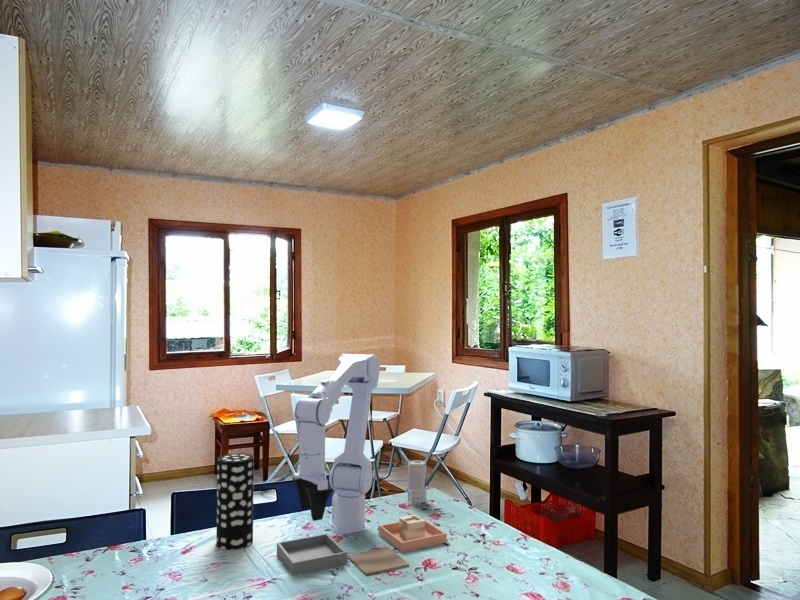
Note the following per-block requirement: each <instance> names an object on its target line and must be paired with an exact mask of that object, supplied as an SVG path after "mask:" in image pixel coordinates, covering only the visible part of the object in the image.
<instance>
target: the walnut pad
mask: <svg viewBox="0 0 800 600" xmlns="http://www.w3.org/2000/svg"><path fill="white" fill-rule="evenodd" d="M348 559H349V561H350V562H352V564H354V565H355V566H356V568H358V569H359V571H360V572H362V573H363V574H364V576H366V577H367V576H372V575H376V574H381V573H384V572H388V571H389V572H390V571H393V570H398V569H403V568H408V567H409V566H410V564H409V562H407V561H406V560H405V559H404V558H402V557H401V556H400V555H399V554H398V553H396V552H395V551H394V550H392V549H391V548H390V547H388V546H386V547H381V548H375V549H372V550H367V551H362V552H357V553H353V554H347V560H348Z"/></svg>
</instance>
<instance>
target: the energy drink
mask: <svg viewBox="0 0 800 600" xmlns="http://www.w3.org/2000/svg"><path fill="white" fill-rule="evenodd" d="M427 469H428V467H427V461H426V460H423V459H422V460H421V459H413V460H409V461H408V464H407V504H408V506H410V507H414V506H418V507H419V506H424V505H427V492H428V491H427V485H428V484H427V473H428V472H427V471H428V470H427Z"/></svg>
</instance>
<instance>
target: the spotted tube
mask: <svg viewBox="0 0 800 600" xmlns="http://www.w3.org/2000/svg"><path fill="white" fill-rule="evenodd" d="M254 467H255V456H254V454H250V453H241V452H240V453H239V452H238V453H229V454H224V455H223V454H222V455H221V456H219V457H217V467H216V469H217V472H216V474H217V475H216V476H217V477H216V478H217V480H216V483H217V485H216V533H215V534H216V535H215V539H216V545H215V546H216V547H217V548H218V549H221V550H227V551H229V550H230V551H233V550H240V549H244V548H246V547H249V546H250V545H252V544H253V542H254V488H255V487H254V481H255V480H254V478H255V477H254V475H255V473H254V472H255V469H254Z"/></svg>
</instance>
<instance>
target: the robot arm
mask: <svg viewBox="0 0 800 600" xmlns="http://www.w3.org/2000/svg"><path fill="white" fill-rule="evenodd" d="M336 365H337V366H336V369H335V371H334V372H333V374H332V375H331V377H330V378H327V379H322V380H321V381H320V383H319V384H318V385H317V386H316V388H315V389H313V390H312V392H311V393H310V394H309V395H308V396H307V397H302V398H301V399H299V400H298V401H297V402H296V404H295V407H294V412H293V417H294V420H295V423H296V430H297V432H299V433H298V465H297V471H296V472H295V473H293V477H291V478H292V482H293V484H294V486H295V488H296V492H297V495H298V496H297V497H298V501H299V506H300V509H301V510H302V511H303V510H310V515H311V519H312V520H311V521H314V522H316V521H320V520H323V518H324V514H325V511H326V505H327V503H328V500H329V498H330V496H331V494H332V492H333V494H332V497H331V498H332V499H331V520H328V523H329V524H330V525H331V526H332V527H334V529H336V531H338V532H339V533H340V534H342V535H343V534H344V535H346V534H349V533H350V534H351V533H354V532H359V531H365V530H366V531H367V530H370V529H371V528H372V527H370V526H369V525H368V524H367V523H366V494H367V493H368V492H369V491H370V490H371V487H372V484H373V463H372V462H371V460H370V459H369V458H368V457H367V456H366V455H365V454H364V452H365V451H364V450H365V444H366V436H367V429H368V424H369V423H368V421H369V415H370V407H371V400H372V393H373V390H374V389H376V388H378V383H379V378H380V370H381V365H380V360H379V358H378V356H377V355H376V354H374V353H372V354H358V353H346V352H345V353H342V354H341V355H340V356H339V357H338V358H337V364H336ZM344 386H347V387H348V388H351V391H352V396H351V403H350V410H349V417H348V423H347V430H346V437H345V444H344V449H343V450H344V451H343V452H342V453H340V455H338V456H337V457H335V458H334V460H333V465H332V467H331V470H330V472H329V477H328V479H327V471H326V425H327V424H328V423H329V422H330V421H329V420H330V418H331V414H332V411H333V407H334V406H335V404H336V403H337V402H338V400H339V399H340V398H341V396H342V388H344ZM352 465H353V466H352ZM354 465H355V466H354ZM328 484H329V485H328Z"/></svg>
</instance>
